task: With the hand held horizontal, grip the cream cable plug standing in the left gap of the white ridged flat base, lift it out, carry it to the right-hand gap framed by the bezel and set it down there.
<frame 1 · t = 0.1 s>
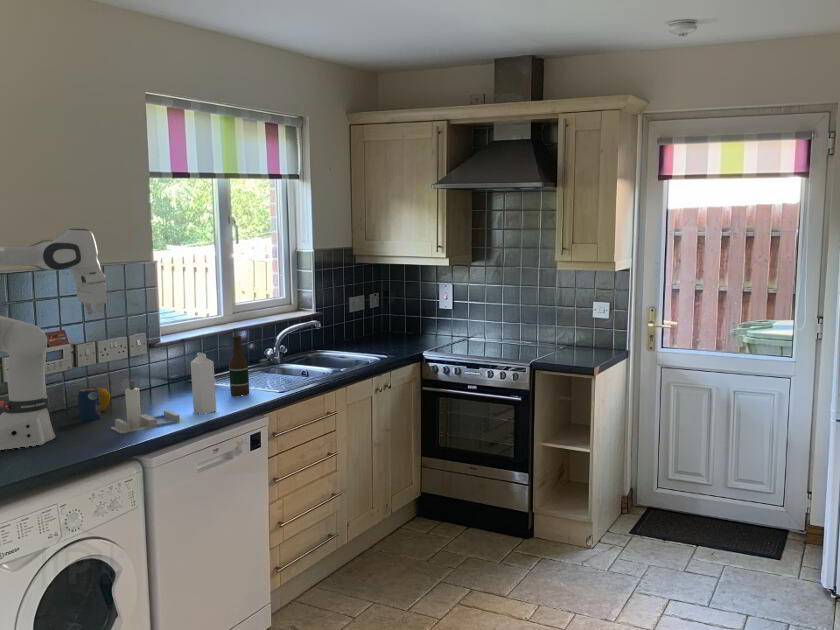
hand: (94, 315, 272), 39 cm above the countertop, tool pointing down, fingers open, 8 cm apart
yellow bell pepper: (99, 411, 300), on the countertop
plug: (134, 426, 269), point 1 cm above the countertop, touching white ridged flat base
soda can: (90, 422, 284), on the countertop
white ridged flat base: (148, 428, 273), on the countertop
milk: (205, 412, 294), on the countertop
beer bottle: (240, 395, 322), on the countertop
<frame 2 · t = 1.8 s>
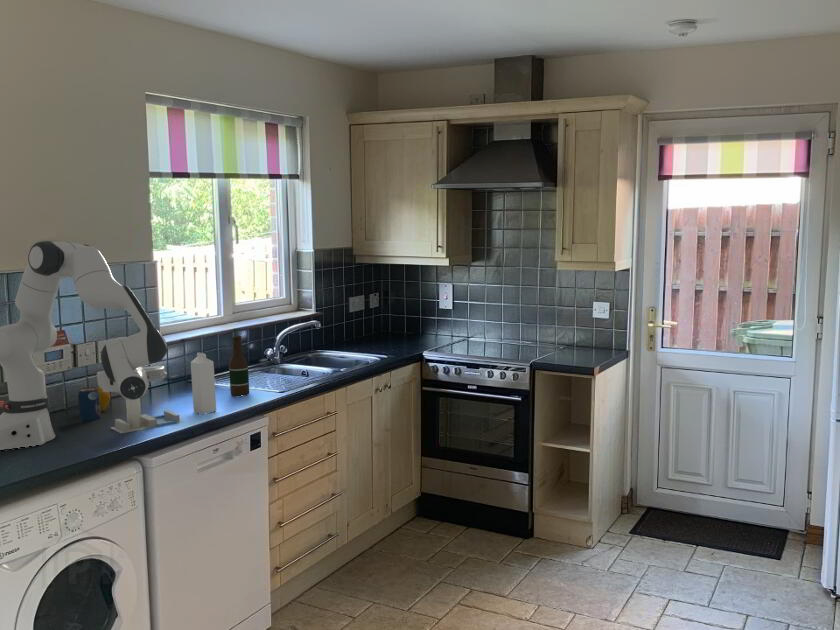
hand: (131, 371, 256), 23 cm above the countertop, tool horizontal, fingers open, 8 cm apart
nothing on the countertop moved.
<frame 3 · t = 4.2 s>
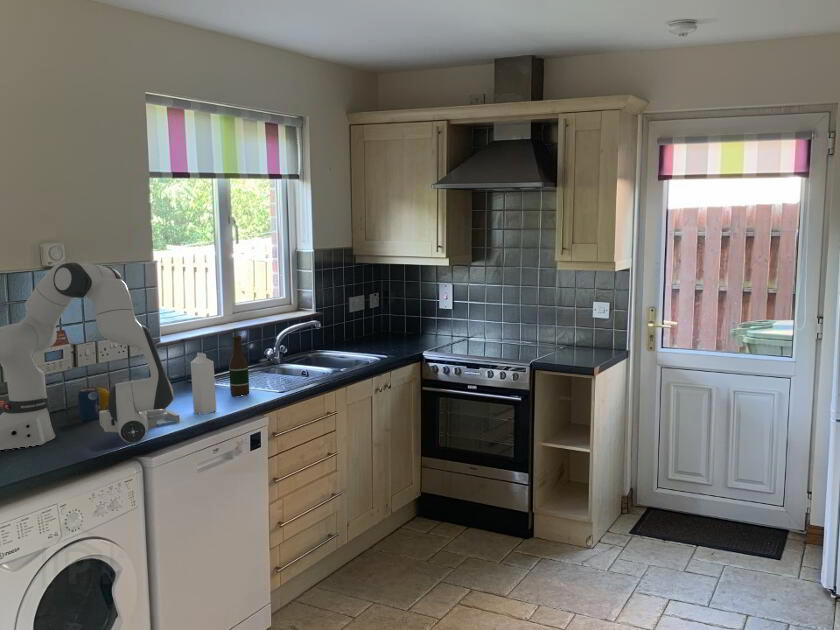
hand: (132, 409, 262), 9 cm above the countertop, tool horizontal, fingers open, 8 cm apart
nothing on the countertop moved.
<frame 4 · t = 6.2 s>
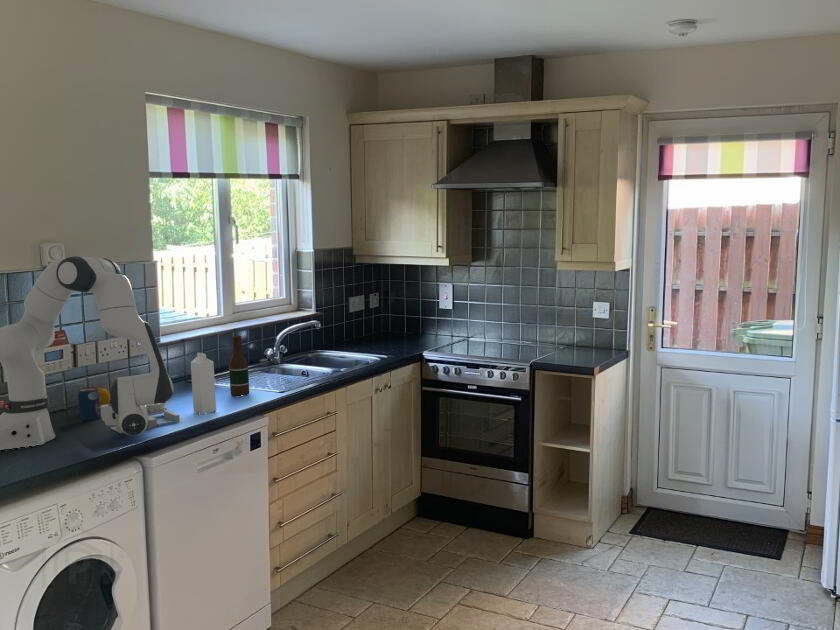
hand: (133, 403, 269), 9 cm above the countertop, tool horizontal, fingers closed on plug, 4 cm apart
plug: (134, 426, 269), point 1 cm above the countertop, touching white ridged flat base, gripper
everything else where it was.
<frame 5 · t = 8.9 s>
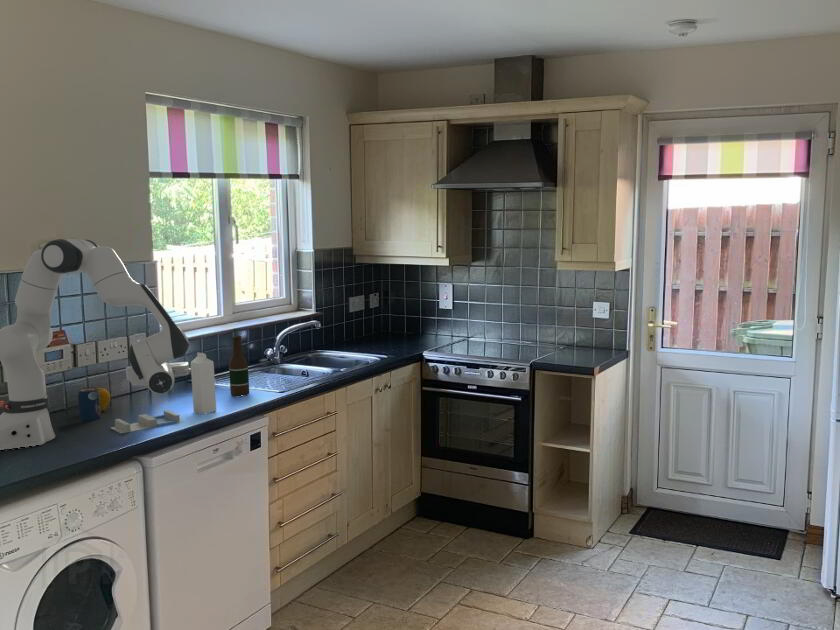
hand: (157, 366, 273), 21 cm above the countertop, tool horizontal, fingers closed on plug, 4 cm apart
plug: (159, 389, 273), point 13 cm above the countertop, touching gripper
everything else where it was.
when the fingers open (10 cm above the countertop, at t = 11.6 s): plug stays where it is, resting on white ridged flat base.
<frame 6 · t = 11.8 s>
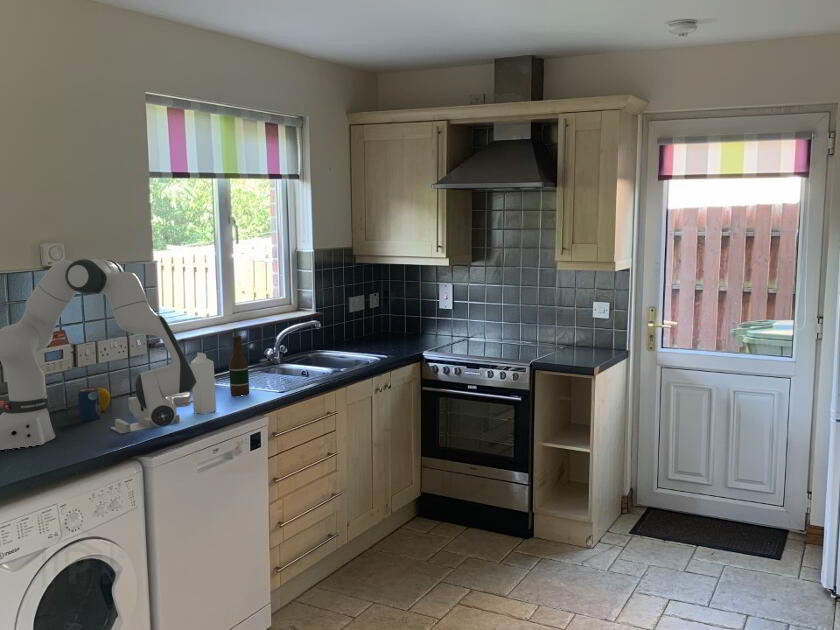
hand: (159, 396, 275), 10 cm above the countertop, tool horizontal, fingers open, 6 cm apart
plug: (161, 421, 275), point 2 cm above the countertop, touching white ridged flat base
everything else where it was.
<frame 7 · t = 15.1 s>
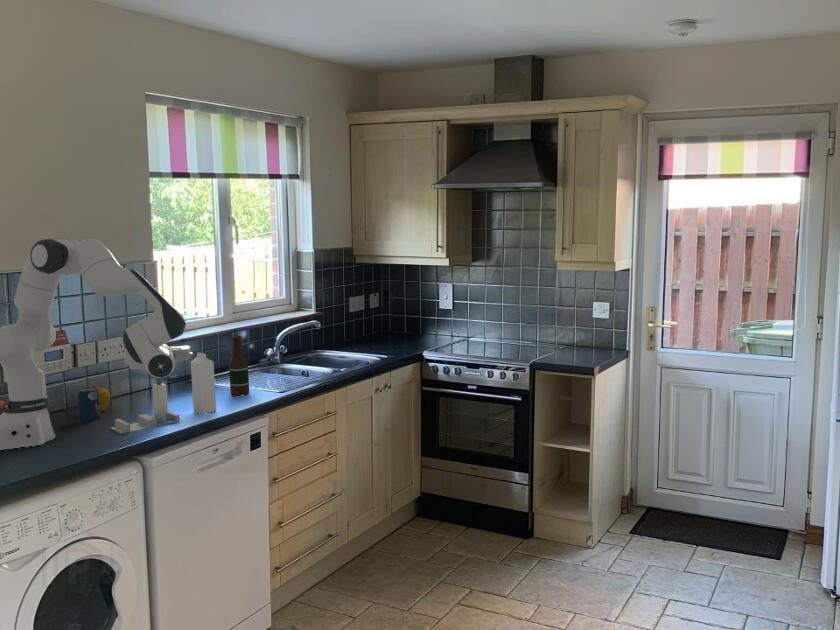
hand: (157, 350, 260), 28 cm above the countertop, tool horizontal, fingers open, 8 cm apart
nothing on the countertop moved.
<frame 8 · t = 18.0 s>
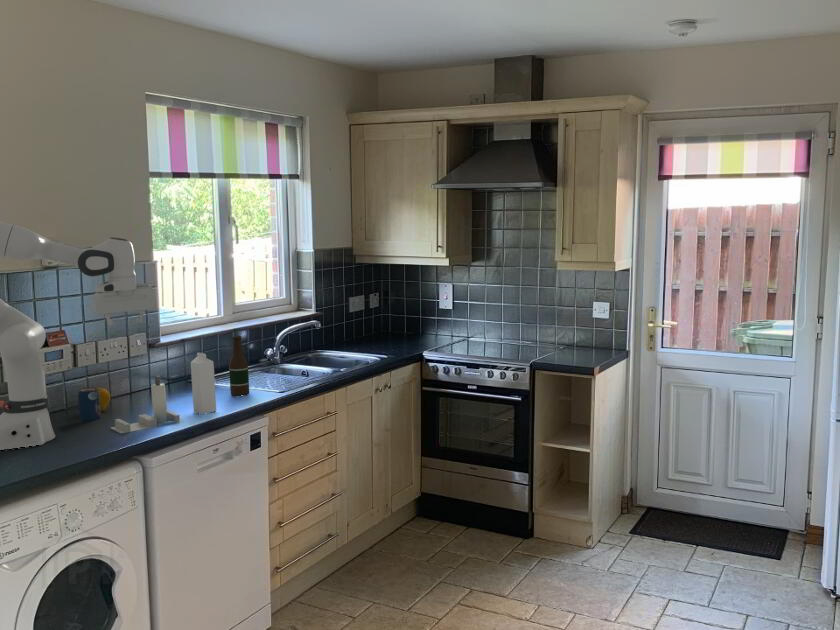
hand: (125, 324, 275), 35 cm above the countertop, tool pointing down, fingers open, 8 cm apart
nothing on the countertop moved.
at the end: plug inside the target area on the white ridged flat base (0.5 cm from its centre), point 1.6 cm above the white ridged flat base's base; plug tilted 1°; the gripper is holding nothing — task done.
